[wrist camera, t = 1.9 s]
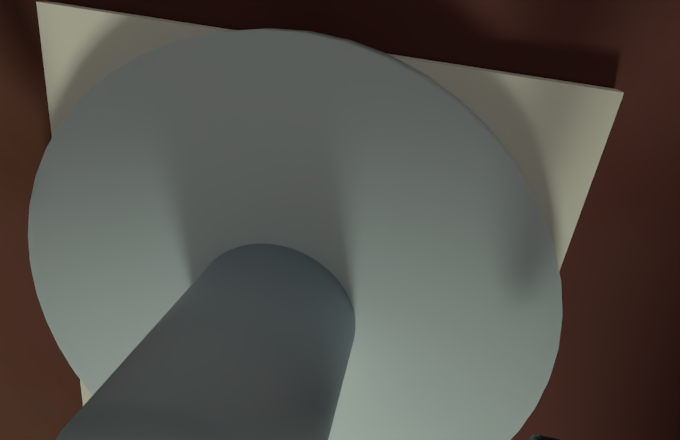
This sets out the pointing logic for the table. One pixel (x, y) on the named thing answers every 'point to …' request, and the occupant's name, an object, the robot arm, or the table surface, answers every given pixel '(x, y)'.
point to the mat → (462, 81)
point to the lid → (290, 250)
